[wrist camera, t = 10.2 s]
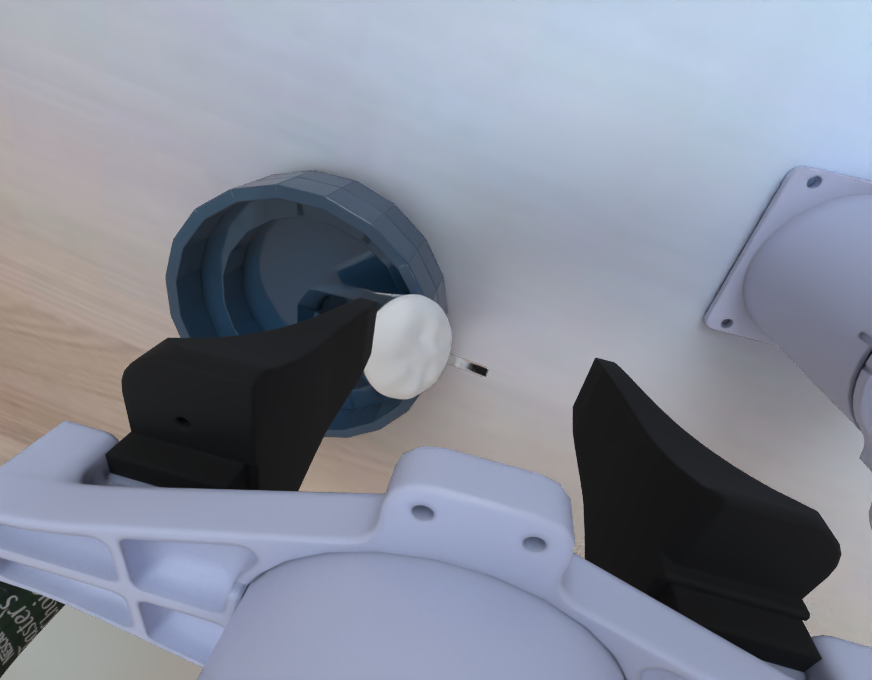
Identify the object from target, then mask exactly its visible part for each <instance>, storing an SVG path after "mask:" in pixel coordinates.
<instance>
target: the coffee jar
mask: <svg viewBox="0 0 872 680" xmlns="http://www.w3.org/2000/svg"><path fill="white" fill-rule="evenodd" d="M64 605H65V604H63V603H61V602H58V601H55V600H53V599H50V598H48V597H45V596H43V595H40V594H37V593H35V592H32V591H29V590H26V589H23V588H20V587H17V586H14V585H11V584H8V583H5V582H2V581H0V678H1V676H2V675H3V674H4V672H5V671H6V670H7V669H8V667H9V666H10V665H11V664H12V663H13V661H14V660H15V659H16V658H17V657H18V656H19V654H20V653H21V652H22V651H23V650H24V649H25V648H26V646H27V645H28V644H29V643H30V642H31V641H32V639H34V638H35V636H36V635H37V634H38V633H39V632H40V631H41V630H42V629H43V628H44V627H45V626H46V625H47V624H48V623H49V621H50V620H51V619H52V618H53V617H54V616H55V615H56V614H57V613H58V612H59V611H60V610H61V609H62V607H63V606H64Z"/></svg>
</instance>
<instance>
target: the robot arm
mask: <svg viewBox="0 0 872 680" xmlns="http://www.w3.org/2000/svg"><path fill="white" fill-rule="evenodd" d="M814 176H816V178H817V179H816V182H815V183H814V184H813V185H812V186H810V187H807V182H808V180H809V179H810V178H812V177H814ZM377 308H378V302H376V301H372V300H368V299H364V298H358V299H355V300H353V301H350V302H348V303H346V304H344V305H342V306H339V307H337V308H335V309H332V310H330V311H328V312H325V313H323V314H321V315H318V316H315V317H313V318H310V319H307V320H304V321H302V322H299V323H296V324H292V325H289V326H285V327H281V328H277V329H273V330H269V331H263V332H257V333H251V334H245V335H238V336H228V337H214V338H167V339H165V340H164V341H162V342H161V343H159V344H158V345H156V346H155V347H154V348H152V349H151V350H149V351H148V352H146V353H145V354H143V355H142V356H141V357H139V358H138V359H136V360H135V361H133V362H132V363H131V364H130V365H129V366H128V367H127V368H126V369H125V371H124V374H123V377H122V380H121V381H122V392H123V397H124V402H125V406H126V410H127V414H128V419H129V423H130V427H131V432H130V433H129V434H128V435H127V436H126V437H124V438H123V439H122V440H121V441H120V442H119V441H118V439H117V438H115V437H114V436H113V435H112V434H110V433H108V432H106V431H102V430H98V429H95V428H91V427H88V426H84V425H81V424H77V423H74V422H70V421H63V422H62V423H61V424H59V425H58V426H56V427H55V428H54V429H52V430H51V431H49V432H48V433H47V434H45V435H44V436H42V437H41V438H40V439H38V440H37V441H35V442H34V443H33V444H31V445H30V446H29V447H27V448H26V449H24V450H23V451H22V452H20V453H19V454H17V455H16V456H15V457H13V458H12V459H10V460H9V461H8V462H6V463H5V464H3V465H2V466H1V467H0V581H2V582H5V583H8V584H11V585H14V586H17V587H20V588H23V589H26V590H29V591H32V592H35V593H37V594H40V595H43V596H45V597H48V598H50V599H53V600H55V601H58V602H61V603H63V604H66V605H68V606H71V607H73V608H75V609H77V610H80V611H82V612H84V613H87V614H89V615H91V616H93V617H95V618H98V619H100V620H102V621H104V622H107V623H109V624H111V625H113V626H115V627H117V628H119V629H122V630H124V631H126V632H128V633H130V634H132V635H134V636H136V637H139V638H141V639H143V640H145V641H147V642H149V643H151V644H153V645H155V646H158V647H160V648H162V649H164V650H166V651H168V652H171V653H172V654H175V655H177V656H179V657H181V658H183V659H185V660H188V661H189V662H192V663H194V664H196V665H198V666H200V667H202V668H203V669H202V671H201V673H200V674H199V677H198V678H197V680H872V648H871V647H868V646H864V645H860V644H857V643H853V642H850V641H846V640H843V639H839V638H836V637H832V636H825V635H820V636H813V637H811V636H810V634H809V632H808V631H807V629H806V627H805V625H804V623H803V621H802V620H804V621H806V620H808V619H809V618H810V613H809V611H808V609H807V607H806V605H805V604H804V602H803V600H802V599H803V598H804V597H805V596H806V595H808V594H809V593H810V592H811V591H812V590H813V589H814V588H816V587H817V586H818V585H819V584H820V583H821V582H823V581H824V580H825V579H826V578H827V577H828V576H829V575H830V574H831V573H832V572H833V570H834V569H835V568H836V567H837V565H838V563H839V560H840V557H841V550H840V544H839V542H838V541H837V539H836V538H835V536H834V535H833V533H832V532H831V530H830V529H829V527H828V526H827V524H826V523H825V521H824V520H823V518H822V517H821V515H820V514H819V513H818V512H817V511H816V510H814V509H812V508H810V507H808V506H806V505H804V504H802V503H800V502H798V501H796V500H794V499H792V498H790V497H788V496H786V495H784V494H782V493H780V492H778V491H776V490H774V489H772V488H770V487H768V486H767V485H765V484H763V483H761V482H760V481H758V480H756V479H754V478H753V477H751V476H749V475H748V474H746V473H744V472H743V471H741V470H739V469H738V468H736V467H735V466H733V465H731V464H730V463H728V462H727V461H725V460H724V459H723V458H721V457H720V456H718V455H717V454H715V453H714V452H712V451H711V450H709V449H708V448H707V447H705V446H704V445H703V444H701V443H700V442H699V441H697V440H696V439H695V438H694V437H692V436H691V435H690V434H689V433H687V432H686V431H685V430H684V429H682V428H681V427H680V426H679V425H678V424H677V423H675V422H674V421H673V420H672V419H671V418H670V417H669V416H668V415H667V414H666V413H665V412H664V411H662V410H661V409H660V408H659V407H658V406H657V405H656V404H655V403H654V402H653V401H652V400H651V399H650V398H649V397H648V396H647V395H646V394H645V393H644V392H643V390H642V389H641V388H640V387H639V386H638V385H637V384H636V383H635V382H634V381H633V380H632V379H631V378H630V377H629V376H628V375H627V374H626V373H625V372H624V371H623V370H622V369H621V368H620V367H619V366H618V365H617V364H616V363H614V362H611V361H607V360H603V359H599V358H595V360H594V362H593V364H592V366H591V368H590V371H589V373H588V375H587V377H586V379H585V382H584V384H583V386H582V388H581V390H580V392H579V395H578V397H577V399H576V401H575V403H574V406H573V437H574V444H575V450H576V457H577V463H578V469H579V475H580V481H581V487H582V495H583V504H584V528H585V559H584V558H582V557H580V556H578V555H577V554H575V553H574V546H575V537H574V528H573V519H572V510H571V501H570V498H569V496H568V495H567V494H566V492H565V491H564V489H563V488H562V486H561V485H560V484H559V483H557V482H555V481H553V480H551V479H549V478H547V477H545V476H543V475H541V474H538V473H535V472H531V471H527V470H524V469H520V468H516V467H513V466H509V465H505V464H502V463H498V462H494V461H491V460H487V459H483V458H480V457H476V456H472V455H469V454H465V453H461V452H458V451H454V450H450V449H447V448H439V447H426V446H421V447H418V448H416V449H413V450H411V451H408V452H406V453H403V455H402V456H401V458H400V460H399V461H398V463H397V464H396V466H395V468H394V471H393V474H392V477H391V479H390V482H389V485H388V488H387V491H386V493H384V494H370V493H335V492H301V491H298V490H299V488H300V486H301V484H302V481H303V479H304V477H305V475H306V473H307V471H308V469H309V466H310V464H311V462H312V460H313V458H314V456H315V454H316V452H317V449H318V447H319V445H320V443H321V441H322V439H323V437H324V435H325V433H326V431H327V430H328V428H329V426H330V424H331V423H332V421H333V420H334V418H335V416H336V415H337V413H338V412H339V410H340V409H341V407H342V406H343V404H344V403H345V401H346V399H347V398H348V396H349V395H350V393H351V392H352V390H353V388H354V387H355V385H356V384H357V382H358V381H359V379H360V377H361V375H362V373H363V371H364V369H365V367H366V365H367V362H368V360H369V358H370V355H371V352H372V344H373V337H374V330H375V322H376V315H377ZM726 319H730V321H729V322H728V323H727V324H725V325H721V323H722V322H723V321H724V320H726ZM704 323H705V324H706V325H707V327H708V328H710V329H713V330H717V331H721V332H725V333H729V334H733V335H737V336H741V337H745V338H749V339H753V340H757V341H761V342H765V343H769V344H773V345H777V346H778V347H779V348H780V349H781V350H782V351H783V352H784V353H785V354H786V355H787V356H788V357H789V358H790V359H791V360H792V361H793V362H794V363H795V364H796V365H797V366H798V367H799V368H800V369H801V370H802V371H803V372H804V373H805V374H806V375H807V376H808V377H809V379H810V380H811V381H812V382H813V383H814V384H815V385H816V386H817V387H818V388H819V389H820V390H821V391H822V392H823V393H824V394H825V395H826V396H827V397H828V398H829V399H830V400H831V401H832V402H833V403H834V404H835V405H836V406H837V407H838V408H839V409H840V410H841V411H842V412H843V413H844V414H845V415H846V416H847V418H848V419H849V420H850V421H851V422H852V423H853V424H854V425H855V426H856V427H857V428H858V429H859V430H860V431H861V432H862V434H863V436H864V442H865V443H864V449H863V451H862V453H861V455H860V459H861V460H862V461H863V463H864V464H865V465H866V466H867V467H868V468H869V469H870V470H871V471H872V181H868V180H864V179H860V178H855V177H851V176H846V175H842V174H837V173H833V172H829V171H824V170H820V169H815V168H811V167H806V166H799V167H796V168H794V169H792V170H791V171H790V172H789V173H788V174H787V175H786V177H785V179H784V180H783V182H782V184H781V186H780V187H779V189H778V191H777V193H776V194H775V196H774V198H773V199H772V201H771V203H770V205H769V206H768V208H767V210H766V211H765V213H764V215H763V217H762V218H761V220H760V222H759V223H758V225H757V227H756V229H755V230H754V232H753V234H752V236H751V237H750V239H749V241H748V242H747V244H746V246H745V248H744V249H743V251H742V253H741V254H740V256H739V258H738V260H737V261H736V263H735V265H734V266H733V268H732V270H731V272H730V273H729V275H728V277H727V278H726V280H725V282H724V284H723V285H722V287H721V289H720V291H719V292H718V294H717V296H716V297H715V299H714V301H713V303H712V304H711V306H710V308H709V309H708V311H707V313H706V315H705V317H704ZM869 521H870V526H871V529H872V503H871V506H870V510H869Z"/></svg>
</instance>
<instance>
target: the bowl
mask: <svg viewBox="0 0 872 680" xmlns="http://www.w3.org/2000/svg"><path fill="white" fill-rule="evenodd" d="M165 279H166V286H167V292H168V299H169V306H170V313H171V317H172V319H173V322H174V324H175V326H176V328H177V331H178V333H179V335H180V337H181V338H214V337H228V336H238V335H245V334H251V333H257V332H263V331H269V330H273V329H277V328H281V327H285V326H289V325H292V324H296V323H297V305H298V303H299V301H300V300H301V298H302V297H303V296H304V294H305V293H306V292H307V290H308V289H309V288H312V287H315V286H318V285H321V284H324V283H330V284H337V285H343V286H350V287H357V288H363V289H370V290H376V291H385V292H395V293H405V294H417V295H422V296H425V297H427V298H429V299H431V300H433V301H434V302H436V303H437V304H438V305H439V306H440V307H441V308H442V309H443V311H444V313H445V314H446V316H447V305H446V296H445V288H444V280H443V275H442V273H441V271H440V269H439V266H438V264H437V262H436V260H435V258H434V256H433V254H432V251H431V249H430V247H429V245H428V243H427V241H426V239H425V238H424V236H423V235H422V234H421V233H420V232H419V231H418V229H417V228H416V227H415V226H414V225H413V224H412V223H411V222H410V221H409V219H408V218H407V217H406V216H405V215H404V214H403V213H402V212H401V211H400V209H399V208H398V207H397V206H396V205H395V204H394V203H392V202H390V201H389V200H387V199H385V198H384V197H382V196H381V195H379V194H377V193H376V192H374V191H372V190H371V189H369V188H367V187H366V186H364V185H363V184H361V183H359V182H358V181H355V180H352V179H348V178H344V177H339V176H335V175H331V174H327V173H323V172H319V171H302V172H293V173H284V174H275V175H271V176H268V177H265V178H262V179H259V180H256V181H253V182H250V183H247V184H244V185H241V186H238V187H235V188H232V189H230V190H228V191H226V192H224V193H222V194H221V195H219V196H217V197H215V198H213V199H212V200H210V201H208V202H206V203H205V204H203V205H201V206H199V207H197V208H196V209H195V210H194V211H193V212H192V214H191V215H190V217H189V218H188V219H187V221H186V222H185V224H184V225H183V226H182V228H181V229H180V231H179V232H178V233H177V235H176V236H175V238H174V239H173V243H172V247H171V252H170V257H169V262H168V267H167V272H166V278H165ZM419 395H420V394H418V395H417V396H415V397H413V398H410V399H395V398H391V397H387V396H385V395H382V394H381V393H379V392H378V391H376V390H375V389H374V388H373V387H372V386H371V385H370V384H369V383H367V382H366V381H365V380H364V379H362V378H361V377H360V379H359V381H358V382H357V384H356V385H355V387H354V388H353V390H352V392H351V393H350V395H349V396H348V398H347V399H346V401H345V403H344V404H343V406H342V407H341V409H340V410H339V412H338V413H337V415H336V416H335V418H334V420H333V421H332V423H331V424H330V426H329V428H328V430H327V431H326V433H325V435H324V437H338V438H347V437H348V438H349V437H353V436H357V435H360V434H364V433H368V432H372V431H376V430H379V429H381V428H383V427H385V426H386V425H388V424H389V423H391V422H392V421H394V420H395V419H397V418H398V417H400V416H401V415H403V414H404V413H406V412H407V411H408V410H409V409H410V408H411V406H412V405H413V403H414V402H415V400H416V399H417V398H418V396H419Z"/></svg>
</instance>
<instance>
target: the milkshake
mask: <svg viewBox="0 0 872 680" xmlns="http://www.w3.org/2000/svg"><path fill="white" fill-rule="evenodd" d="M358 298H364V299H368V300H372V301H376V302H378V308H377V315H376V322H375V330H374V337H373V344H372V352H371V355H370V358H369V360H368V362H367V365H366V367H365V369H364V371H363V373H362V375H361V378H362V379H364V380H365V381H366V382H367V383H369V384H370V385H371V386H372V387H373V388H374V389H375V390H376V391H378V392H379V393H381V394H382V395H385V396H387V397H391V398H395V399H410V398H413V397H415V396H417V395H418V394H420V393H421V392H423V391H425V390H427V389H428V388H430V387H431V386H432V385H434V384H435V382H436V381H437V380H438V378H439V377H440V375H441V373H442V371H443V369H444V368H445V366H446V364H449V365H452V366H455V367H457V368H460V369H463V370H465V371H468V372H471V373H474V374H476V375H479V376H482V377H486V376H487V373H488V370H489V368H487V367H485V366H482V365H480V364H477V363H474V362H471V361H468V360H466V359H463V358H460V357H457V356H455V355H452V354H450V350H451V344H452V331H451V327H450V324H449V321H448V319H447V316H446V314H445V313H444V311H443V309H442V308H441V307H440V306H439V305H438V304H437V303H436V302H434V301H433V300H431V299H429V298H427V297H425V296H422V295H417V294H405V293H395V292H385V291H376V290H370V289H363V288H357V287H350V286H343V285H337V284H330V283H324V284H321V285H318V286H315V287H312V288H309V289H308V290H307V292H306V293H305V294H304V296H303V297H302V298H301V300H300V301H299V303H298V305H297V323H299V322H302V321H304V320H307V319H310V318H313V317H315V316H318V315H321V314H323V313H325V312H328V311H330V310H332V309H335V308H337V307H339V306H342V305H344V304H346V303H348V302H350V301H353V300H355V299H358Z"/></svg>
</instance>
